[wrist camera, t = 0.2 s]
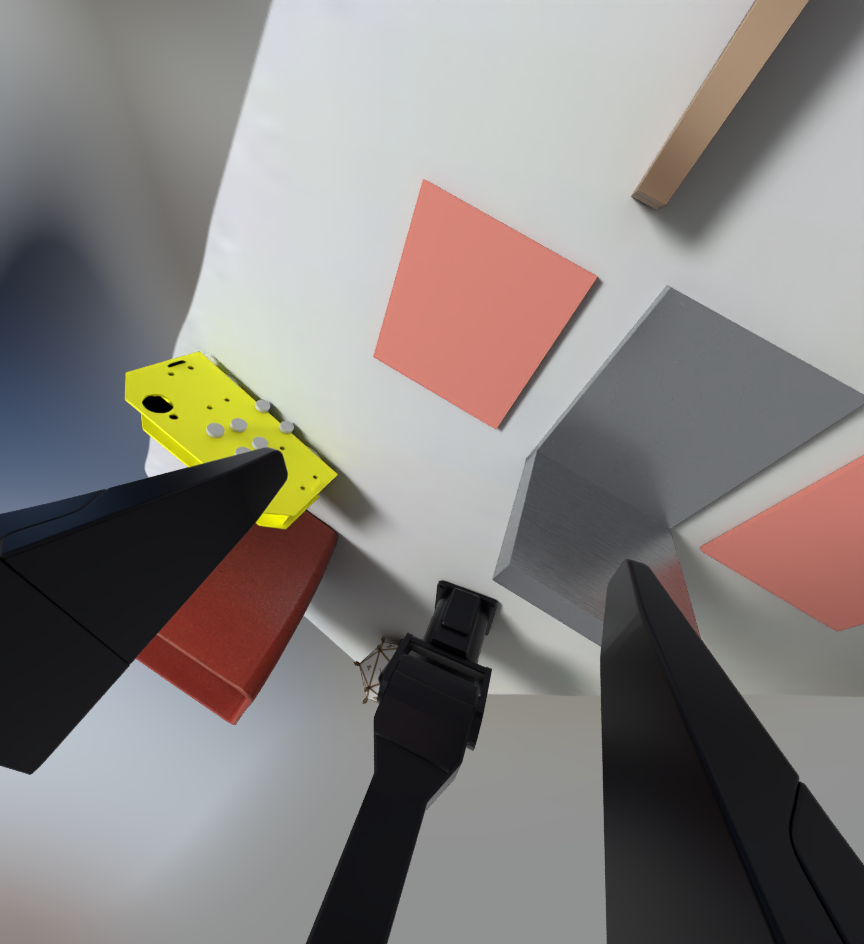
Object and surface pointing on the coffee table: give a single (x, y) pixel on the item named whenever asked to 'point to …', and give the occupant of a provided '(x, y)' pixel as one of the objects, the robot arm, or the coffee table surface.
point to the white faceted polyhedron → (375, 668)
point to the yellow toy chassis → (223, 427)
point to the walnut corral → (717, 96)
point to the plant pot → (243, 616)
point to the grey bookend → (655, 455)
